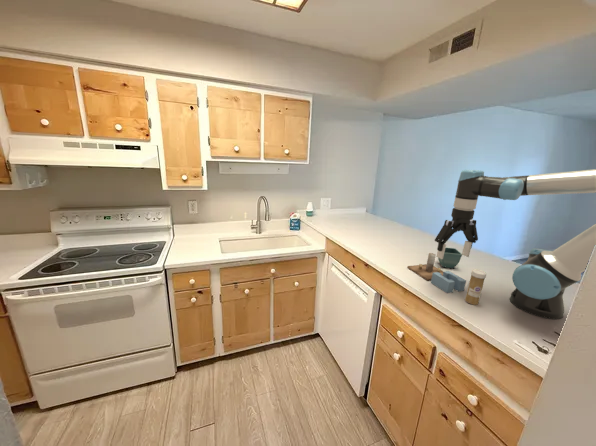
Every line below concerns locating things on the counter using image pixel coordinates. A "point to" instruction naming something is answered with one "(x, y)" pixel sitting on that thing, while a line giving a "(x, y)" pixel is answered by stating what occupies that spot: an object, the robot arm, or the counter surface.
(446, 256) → the flower pot
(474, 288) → the sprinkles bottle
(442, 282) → the blue notched block
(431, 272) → the post base
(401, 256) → the counter surface
